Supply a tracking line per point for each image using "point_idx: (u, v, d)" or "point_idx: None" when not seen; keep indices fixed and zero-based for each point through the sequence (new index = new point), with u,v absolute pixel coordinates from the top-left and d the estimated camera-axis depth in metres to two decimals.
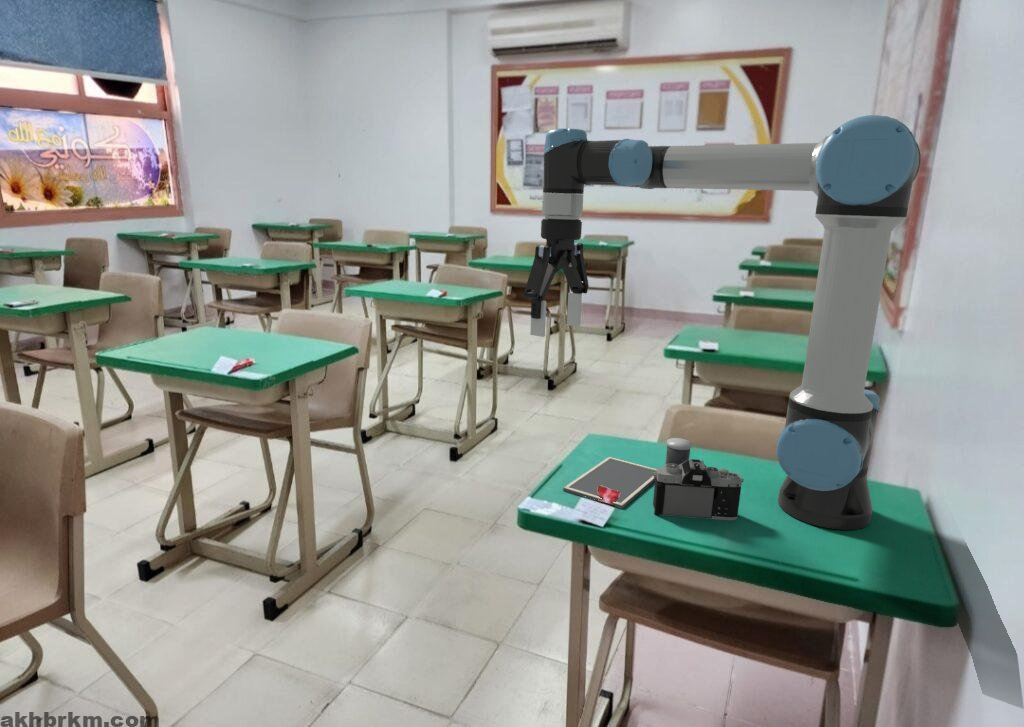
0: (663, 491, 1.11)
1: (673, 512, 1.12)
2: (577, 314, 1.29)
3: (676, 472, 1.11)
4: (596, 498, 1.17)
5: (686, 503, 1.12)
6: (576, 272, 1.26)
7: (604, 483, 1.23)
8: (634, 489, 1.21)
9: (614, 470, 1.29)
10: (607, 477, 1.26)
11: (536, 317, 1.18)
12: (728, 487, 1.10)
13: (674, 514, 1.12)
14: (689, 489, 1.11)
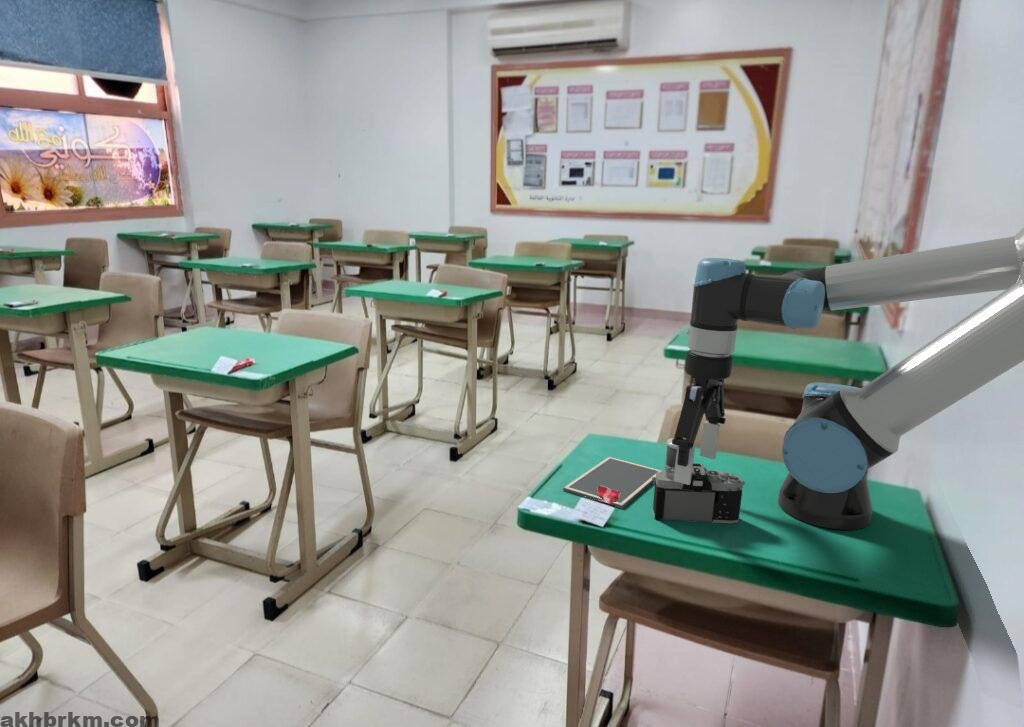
0: (663, 497, 1.10)
1: (673, 517, 1.11)
2: (713, 446, 1.18)
3: None
4: (596, 498, 1.17)
5: (686, 508, 1.10)
6: (717, 405, 1.14)
7: (604, 483, 1.23)
8: (634, 489, 1.21)
9: (614, 470, 1.29)
10: (607, 477, 1.26)
11: (684, 465, 1.05)
12: (729, 491, 1.08)
13: (675, 519, 1.11)
14: (689, 494, 1.09)
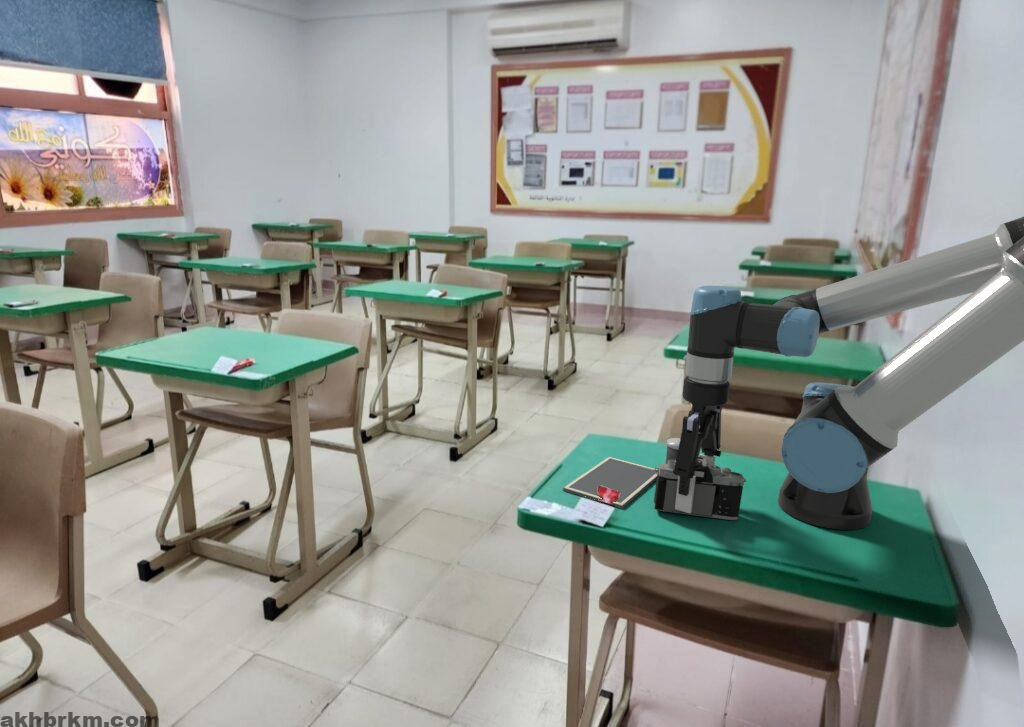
0: (664, 486, 1.12)
1: (673, 508, 1.12)
2: None
3: None
4: (596, 498, 1.17)
5: None
6: (714, 434, 1.15)
7: (604, 483, 1.23)
8: (634, 489, 1.21)
9: (614, 470, 1.29)
10: (607, 477, 1.26)
11: (685, 494, 1.08)
12: (730, 486, 1.10)
13: (674, 510, 1.12)
14: None
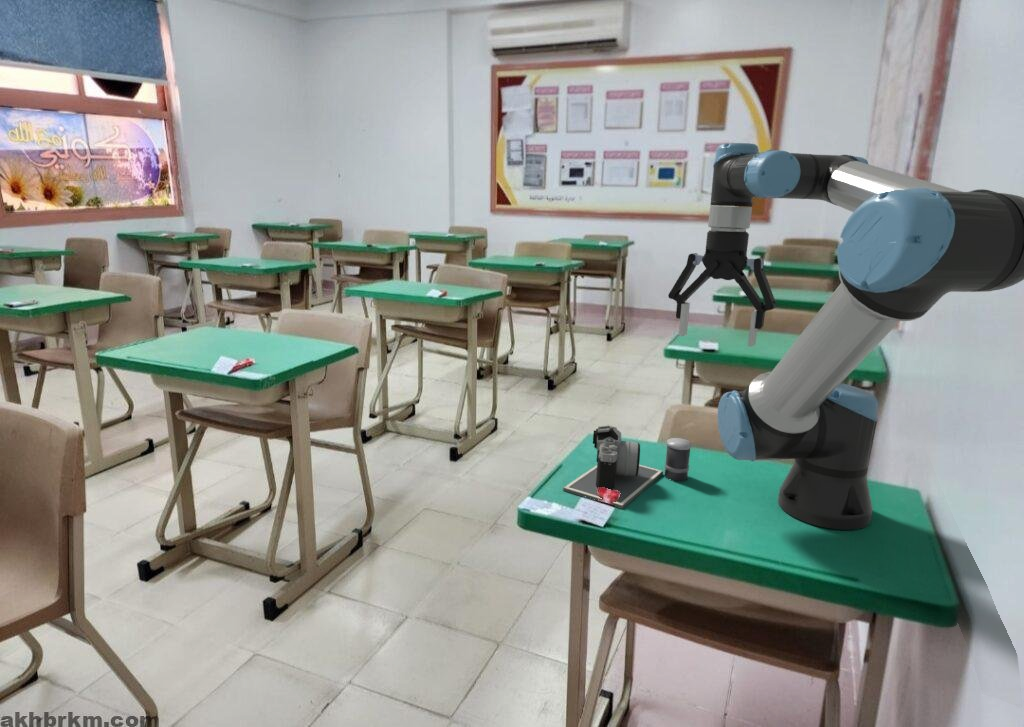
0: None
1: None
2: None
3: None
4: (596, 498, 1.17)
5: None
6: (745, 287, 1.22)
7: None
8: (634, 489, 1.21)
9: None
10: None
11: None
12: (598, 456, 1.20)
13: None
14: None
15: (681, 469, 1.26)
